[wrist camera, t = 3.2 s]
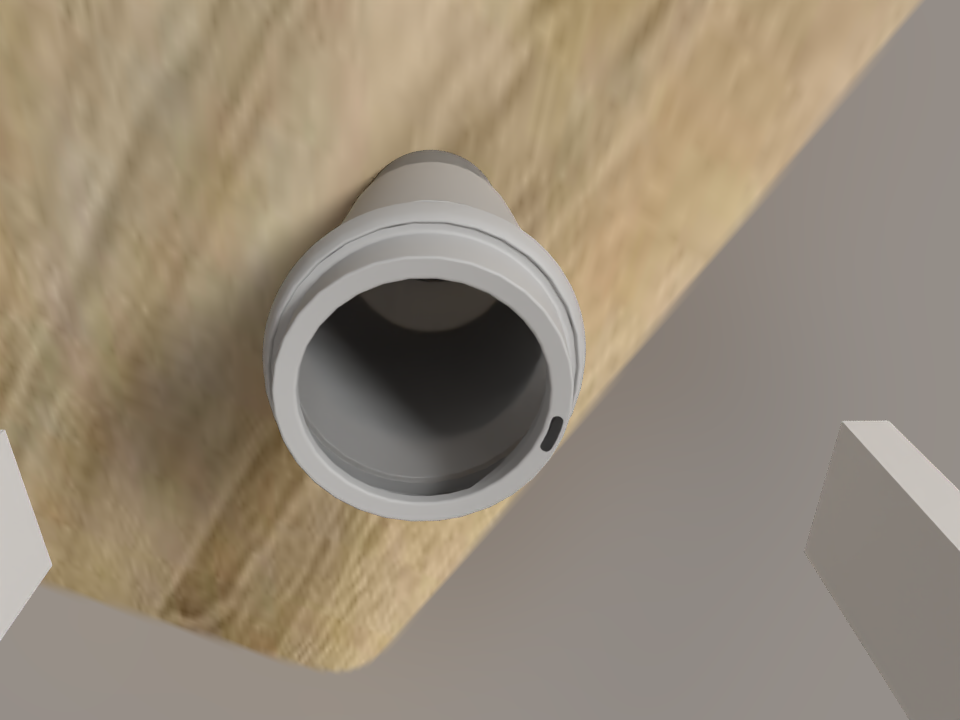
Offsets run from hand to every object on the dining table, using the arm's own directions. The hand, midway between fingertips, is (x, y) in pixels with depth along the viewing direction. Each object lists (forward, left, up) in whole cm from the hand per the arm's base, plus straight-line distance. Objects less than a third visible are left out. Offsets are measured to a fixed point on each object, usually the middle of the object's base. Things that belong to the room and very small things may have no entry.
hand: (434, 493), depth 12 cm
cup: (0, 0, -15) cm, 15 cm away
